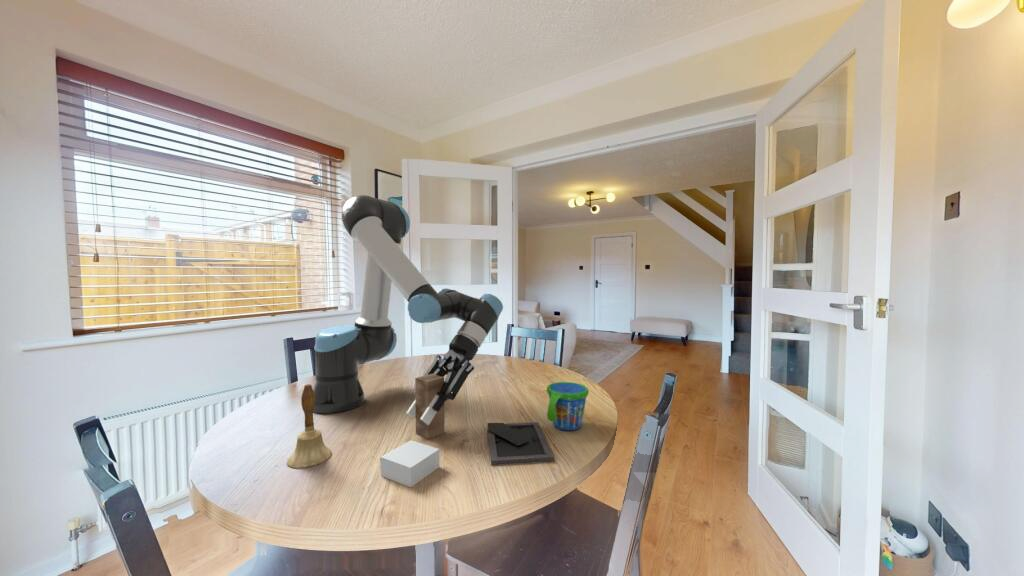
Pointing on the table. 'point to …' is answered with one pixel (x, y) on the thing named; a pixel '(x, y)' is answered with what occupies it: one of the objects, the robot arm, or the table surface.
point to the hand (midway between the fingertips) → (417, 418)
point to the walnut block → (423, 396)
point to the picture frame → (517, 443)
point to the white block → (410, 463)
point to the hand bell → (309, 437)
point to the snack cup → (566, 404)
